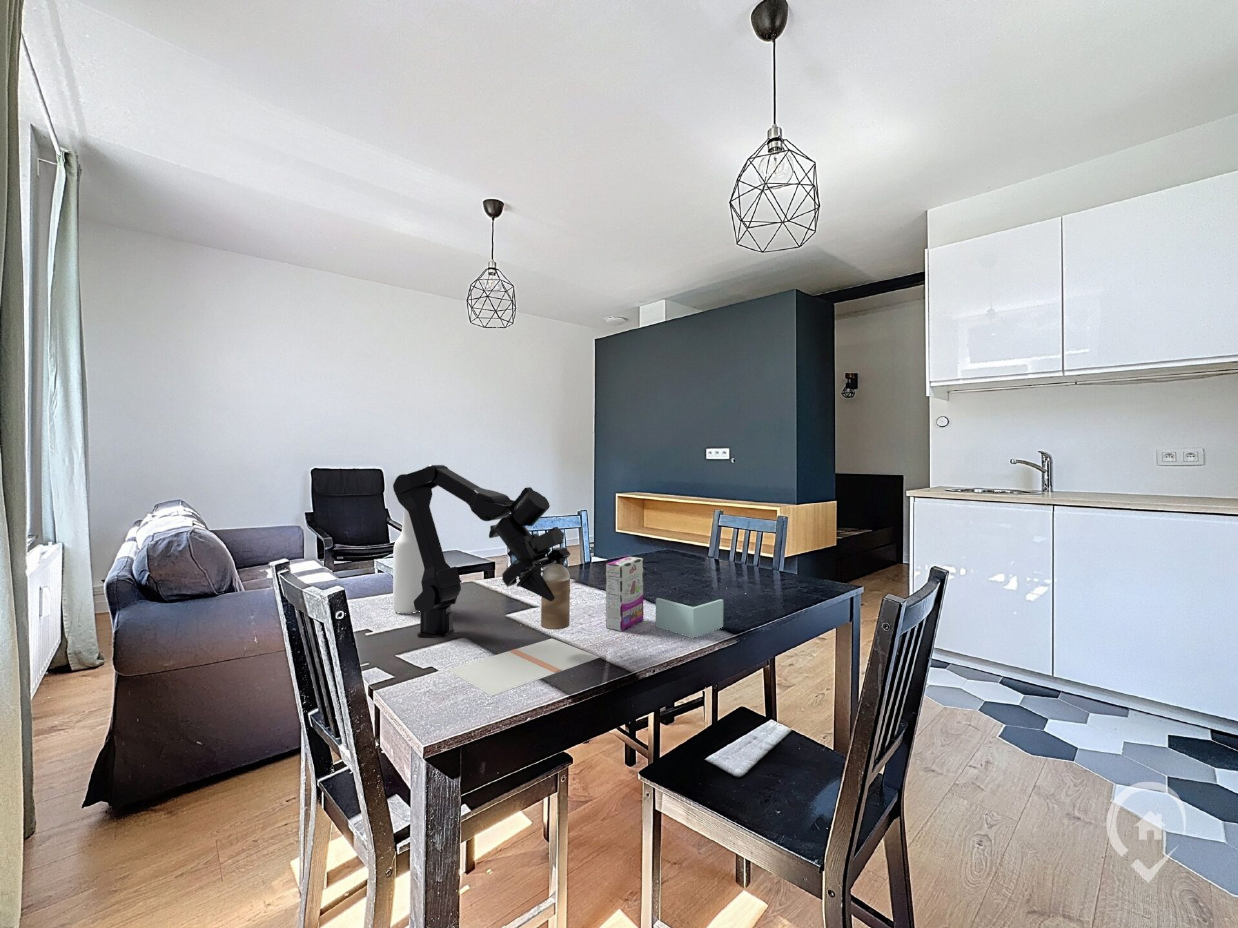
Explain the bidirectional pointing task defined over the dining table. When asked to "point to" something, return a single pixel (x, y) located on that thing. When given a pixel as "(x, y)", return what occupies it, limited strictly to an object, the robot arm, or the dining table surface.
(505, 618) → the dining table surface
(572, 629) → the dining table surface
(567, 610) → the walnut pin
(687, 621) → the right angle wall
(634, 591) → the candy bar box
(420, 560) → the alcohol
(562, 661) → the mat
